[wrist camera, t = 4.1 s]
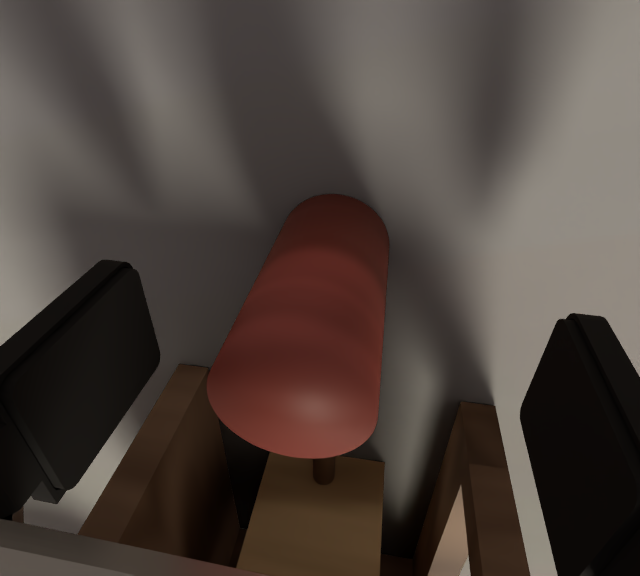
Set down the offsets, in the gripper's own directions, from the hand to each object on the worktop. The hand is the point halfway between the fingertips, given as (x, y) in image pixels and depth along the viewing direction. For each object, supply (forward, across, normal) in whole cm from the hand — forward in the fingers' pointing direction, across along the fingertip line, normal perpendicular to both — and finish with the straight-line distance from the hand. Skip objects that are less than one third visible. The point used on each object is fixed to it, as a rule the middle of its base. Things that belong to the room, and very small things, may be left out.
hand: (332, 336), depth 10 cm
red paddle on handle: (+4, 0, +7) cm, 8 cm away
